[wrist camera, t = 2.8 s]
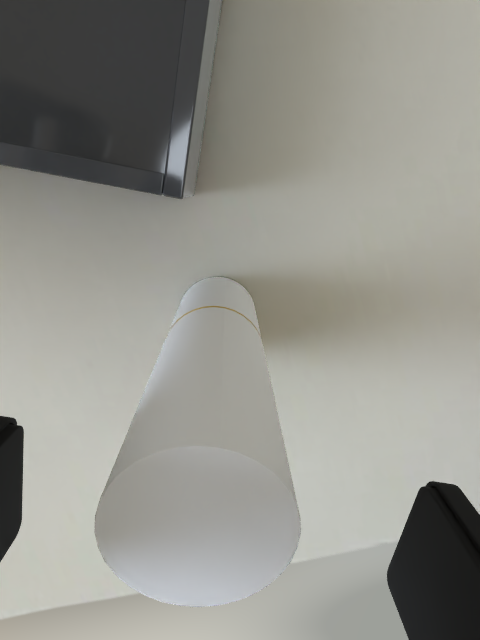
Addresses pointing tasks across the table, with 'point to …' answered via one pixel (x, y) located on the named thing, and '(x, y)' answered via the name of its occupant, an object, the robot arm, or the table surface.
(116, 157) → the basin
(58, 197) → the table surface
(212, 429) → the tube
